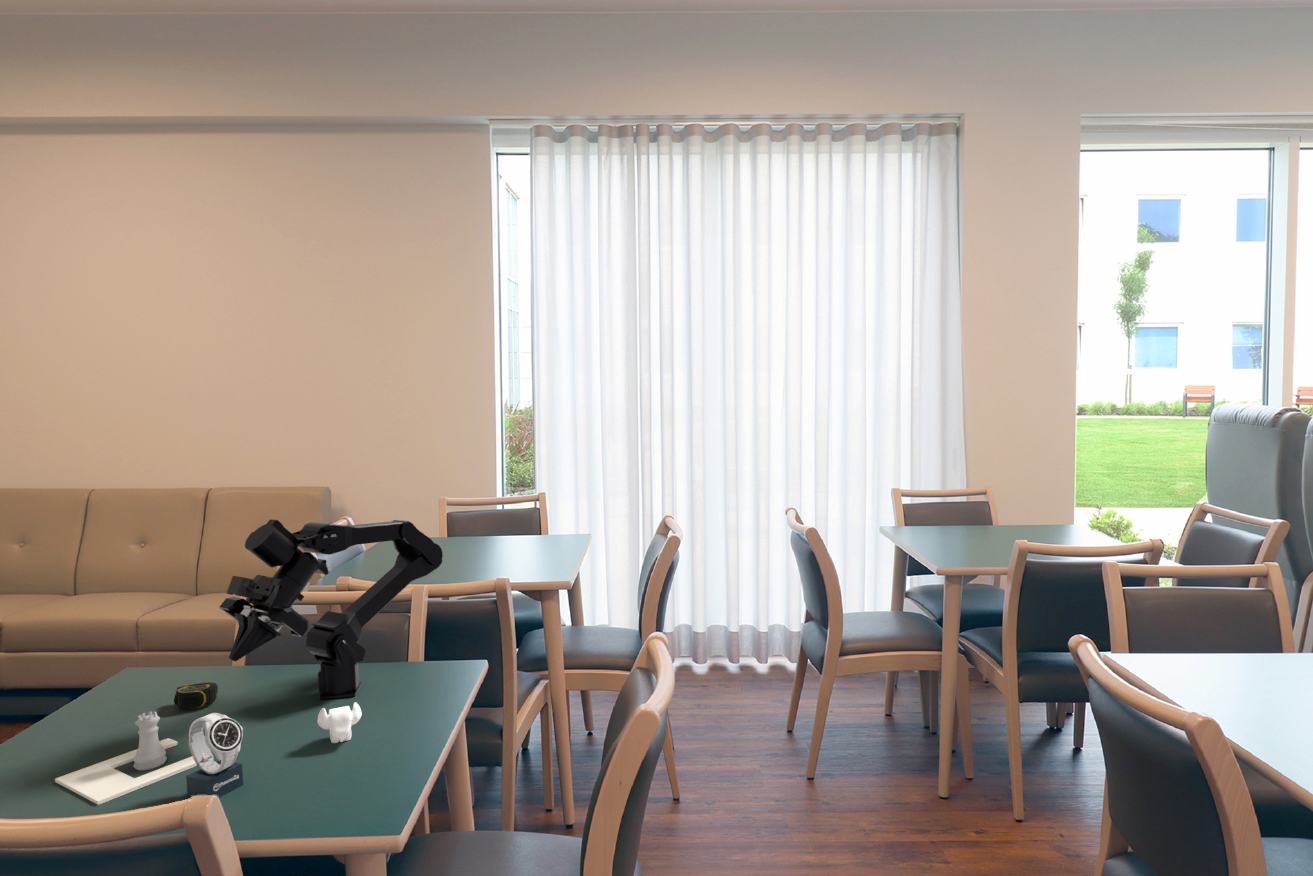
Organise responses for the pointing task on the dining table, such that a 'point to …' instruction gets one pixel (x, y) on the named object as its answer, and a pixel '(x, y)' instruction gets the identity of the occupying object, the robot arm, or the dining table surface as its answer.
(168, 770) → the cream u-shaped flat bracket
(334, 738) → the elephant figurine
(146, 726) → the rook chess piece
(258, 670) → the dining table surface
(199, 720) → the watch
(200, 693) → the tape measure
